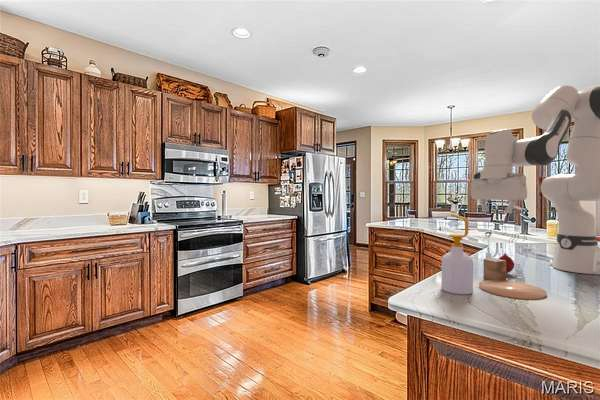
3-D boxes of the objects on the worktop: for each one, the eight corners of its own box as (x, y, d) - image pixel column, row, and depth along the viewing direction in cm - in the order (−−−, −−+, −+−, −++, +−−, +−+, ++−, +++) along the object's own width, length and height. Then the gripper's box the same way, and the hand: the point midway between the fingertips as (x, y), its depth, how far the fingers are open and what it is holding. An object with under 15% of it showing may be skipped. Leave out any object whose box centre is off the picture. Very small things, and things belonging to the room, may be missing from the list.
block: (493, 276, 119) (494, 258, 119) (506, 280, 114) (506, 260, 114) (483, 277, 117) (483, 258, 117) (495, 281, 113) (495, 261, 112)
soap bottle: (444, 284, 108) (444, 212, 108) (474, 289, 103) (475, 213, 102) (438, 291, 101) (439, 214, 100) (470, 297, 95) (471, 215, 95)
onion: (517, 275, 120) (518, 254, 119) (502, 275, 120) (502, 254, 120) (507, 272, 125) (508, 251, 125) (493, 272, 126) (493, 251, 125)
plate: (506, 280, 113) (506, 277, 113) (561, 295, 96) (561, 292, 96) (466, 284, 108) (466, 282, 108) (517, 302, 91) (517, 298, 91)
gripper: (532, 173, 106) (531, 214, 106) (481, 176, 126) (479, 211, 126) (518, 172, 104) (517, 214, 105) (468, 175, 124) (467, 210, 124)
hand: (496, 212), depth 115 cm, fingers open, 8 cm apart
